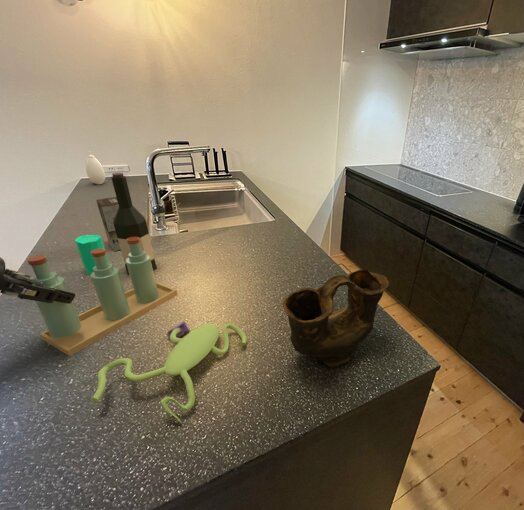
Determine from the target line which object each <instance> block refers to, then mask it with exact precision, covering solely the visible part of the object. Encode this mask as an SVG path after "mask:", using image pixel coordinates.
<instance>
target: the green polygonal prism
mask: <svg viewBox="0 0 524 510" xmlns="http://www.w3.org/2000/svg"><path fill="white" fill-rule="evenodd" d="M74 242H75V244H76V247H77V250H78V253H79V256H80V259H81V262H82V265H83V267H84V270H85V273H87V274H88V275H91V273H92V272H94V271H93V268H94V267H95V266H96V264H95V261H94V258H93V257H92V256H91V253H90V252H91V251H92V250H94V249H100V248H102V249H105V245H104V242H103V238H102V236H101V235H99V234H88V233H86V234H85V235H80V236H78V237H76V239H75V240H74ZM105 250H106V249H105ZM105 255H106V259H107V262H108V263H110V261H109V258H108V255H107V253H106V254H105Z"/></svg>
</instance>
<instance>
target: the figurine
mask: <svg viewBox="0 0 524 510" xmlns="http://www.w3.org/2000/svg"><path fill="white" fill-rule="evenodd" d="M227 329H230V330H232V331H234V332H235V333H237V334H238V336H239V337H240V339H241V341H240V342H238V344H237V345H238V346H239V347H244V346H245V345H246V344H247V341H248V340H247V339H248V338H247V336H246V333H245V332H244V331H243V330H242V329H241V328H240V327H239V326H238V325H236V324H233V323H226V324H225V325H224V326H223V327H222V336H223V348H222V349H220V348H219V347H216V346H215V345H216V343H217V341H218V339H219V335H220V329H219V326H218V325H217V324H215V323H206V324H202V325H200V326H197V327H195V328H194V329H193V330H191V331H190V328H189V327H188V324H187V322H186V321H185V320H183V321H182V322H180V323H178V324H177V325H176V326H174V327H173V328H171V329H170V330H168V331H167V332H166V333H165V334H166V336H168V339H169V340H170V341H171V342H172V343H174V344H175V345H174V347H173V348H172V350H171V351H170V352H169V354H168V355H167V356H166V360H165V362H164V365H163V366H162V367H160V368H157V369H154V370H151V371H148V372H144V373H142V374H141V373H140V374H135V373H133V372H132V369H133V359H131V358H129V357H124V358H123V357H122V358H118V359H115V360H113V361H111V362H109V363H107V364H106V365H104V366H103V367H102V368H101V369H100V370H99V371H98V373H97V381H98V385H97V389H96V391H95V393H94V394H93V396H92V397H91V399H92V401H93V402H94V403H96V404H97V403H99V401H100V400H101V398H102V396H103V394H104V393H105V391H106V386H107V373H108V372H109V371H110V370H112V369H114V368H116V367H118V366H121V365H125V368H124V377H125V379H127V380H129V381H131V382H135V383H139V382H144V381H147V380H150V379H154V378H156V377H159V376H161V375H164V374H167V375H168V376H179V375H180V377H181V378H182V380H183V381H184V383H185V387H186V391H187V397H188V399H187V400H188V401H187V403H186V404H185V405H184V404H181V403H180V402H178V401H177V400H176V399H175V398H174V397H171V396H168V395H167V396H164V397H163V399H161V400H160V401H159V402H160V405H161V407H162V408H163V409H164V410H165V411H166V412H167V413H168V414H169V415H170V416H173V417H174V418H176V419H177V420H178V421H179V423H180V424H183V422H182V421H181V419H180V418H179V417H178V416H177V415H176V414H175V412H173V411H172V409H171V408H170V407H169V405H168V403H170V402H171V401H172V402H173V403H175V404H176V406H177V407H179V409H180V410H181V411H183V412H190V411H191V410H192V408H193V407H195V402H196V394H195V393H196V392H195V388H194V384H193V380H192V378H191V376H190V375H189V372H188V371H189V370H191V369H192V368H194V367H196V366H197V365H198V364H199V363H201V361H202V360H203V359H205V357H207V355H208V354H209V353H210V352H211V353H213V354H214V355H218V356H224V355H226V353H227V352H228V349H229V346H230V338H229V334H228V331H227ZM183 335H184V336H183ZM181 336H183V338H180V337H181Z"/></svg>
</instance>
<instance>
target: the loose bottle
mask: <svg viewBox="0 0 524 510" xmlns="http://www.w3.org/2000/svg"><path fill="white" fill-rule="evenodd" d="M26 261H27V263H28V265H29V266H31V268H32V271H33V273H34V276H33V277H31V278H32V279H35V280H38V281H41V282H43V284H44V285H45V286H49V287H52V288H53V287H55V288H56V289H59V290H63V291H67V292H70V291H69V288H68V286H67V283H66V281H65V278H64V277H62V276H58V275H57V273H56V272H54V271H51V270H50V267H49V265H48V258H47V256H46V255H45V254H36V255H33V256H30V257H28V258H27V259H26ZM33 285H36V284H35V283H33ZM34 302H35V304H36V306H37V308H38V311H39V313H40V315H41V317H42V319H43V322H44V324H45V326H46V329H47V330H48V331H49V333H50V335H51V336H52V337H54V338H62V337H67V336H70V335H72V334H74V333H76V332H77V331H78V330H80V328H81V326H82V324H81V322H80V319H79V317H78V315H79V314H78V311H77V308H76V307H75V304H74V300H73V301H72V302H71V303H70V304H67V303H62V302H57V301H53V302H52V303H46V302H40V301H34Z"/></svg>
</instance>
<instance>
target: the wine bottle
mask: <svg viewBox="0 0 524 510" xmlns="http://www.w3.org/2000/svg"><path fill="white" fill-rule="evenodd" d="M111 175H112V176H111V177H110V178H111V183H112V186H113V189H114V194H115V197H117V201H118V205H119V208H118V210H117V212H116V215H115V217H114V219H113V224H114V228H115V231H116V235H117V238H118V242H119V245H120V249H121V250H120V252H121V256H122V259H123V263H124V266H125V271H126V274H127V276H130V275H129V271H128V268H127V264H126V259H127V258H129V257H128V254H129V253H131V251H130V247H129V244H128V243H127V238H130V237H139V240H140V242H139V244H140V248H141V251H144V252H145V254H146V255H148V256H150V260H151V264H152V268H153V272H155V271H156V270H157V269H158V267H157V263H156V258H155V254H154V250H153V246H152V240H151V237H150V233H149V227H148V224H147V219H146V217H145V216H144V215H143V214H142V213H141V212H140V211H139V210H138V209H137V208H136V207H135V206H134V205H133V202H132V198H131V192H130V189H129V185H128V181H127V177H126V175H124V173H123V172H114V173H112V174H111Z"/></svg>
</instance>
